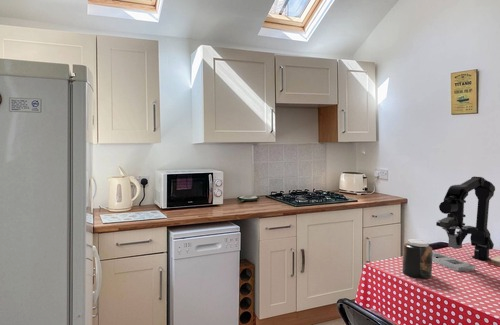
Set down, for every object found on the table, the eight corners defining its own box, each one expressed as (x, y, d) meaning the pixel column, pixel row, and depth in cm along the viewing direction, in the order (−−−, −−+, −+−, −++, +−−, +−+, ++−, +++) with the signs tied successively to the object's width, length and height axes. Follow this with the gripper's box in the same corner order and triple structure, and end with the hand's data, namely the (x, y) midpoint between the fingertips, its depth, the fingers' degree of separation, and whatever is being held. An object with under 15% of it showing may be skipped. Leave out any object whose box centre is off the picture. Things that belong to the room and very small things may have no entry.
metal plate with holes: (434, 255, 191) (434, 251, 191) (474, 269, 168) (475, 265, 168) (419, 256, 188) (419, 252, 188) (458, 271, 165) (458, 267, 165)
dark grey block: (454, 245, 175) (455, 233, 175) (461, 248, 172) (462, 235, 171) (448, 246, 174) (448, 234, 174) (455, 248, 170) (455, 236, 170)
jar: (402, 276, 157) (404, 242, 156) (402, 268, 168) (403, 236, 167) (432, 280, 153) (434, 246, 152) (430, 272, 163) (431, 239, 163)
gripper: (428, 209, 179) (426, 240, 179) (460, 216, 161) (458, 250, 162) (445, 208, 182) (444, 239, 183) (479, 215, 164) (477, 249, 165)
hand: (455, 244), depth 173 cm, fingers closed on dark grey block, 4 cm apart
